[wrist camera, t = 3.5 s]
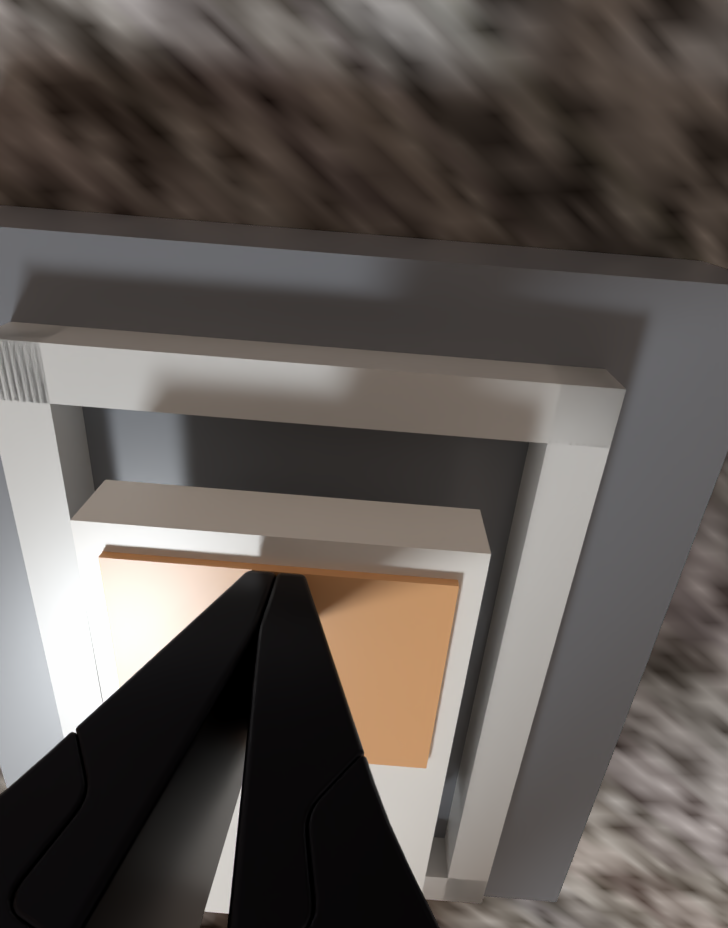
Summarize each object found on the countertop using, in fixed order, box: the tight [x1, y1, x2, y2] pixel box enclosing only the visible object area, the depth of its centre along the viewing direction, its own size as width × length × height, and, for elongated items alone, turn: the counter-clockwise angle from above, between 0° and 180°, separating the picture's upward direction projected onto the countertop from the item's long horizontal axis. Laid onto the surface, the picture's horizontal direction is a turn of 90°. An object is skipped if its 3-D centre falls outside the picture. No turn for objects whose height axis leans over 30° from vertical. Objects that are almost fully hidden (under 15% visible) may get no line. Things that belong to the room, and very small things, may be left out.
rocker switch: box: [70, 480, 491, 914], centre depth 11 cm, size 10×6×1 cm, turn 176°
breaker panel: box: [0, 205, 728, 904], centre depth 14 cm, size 17×15×4 cm
